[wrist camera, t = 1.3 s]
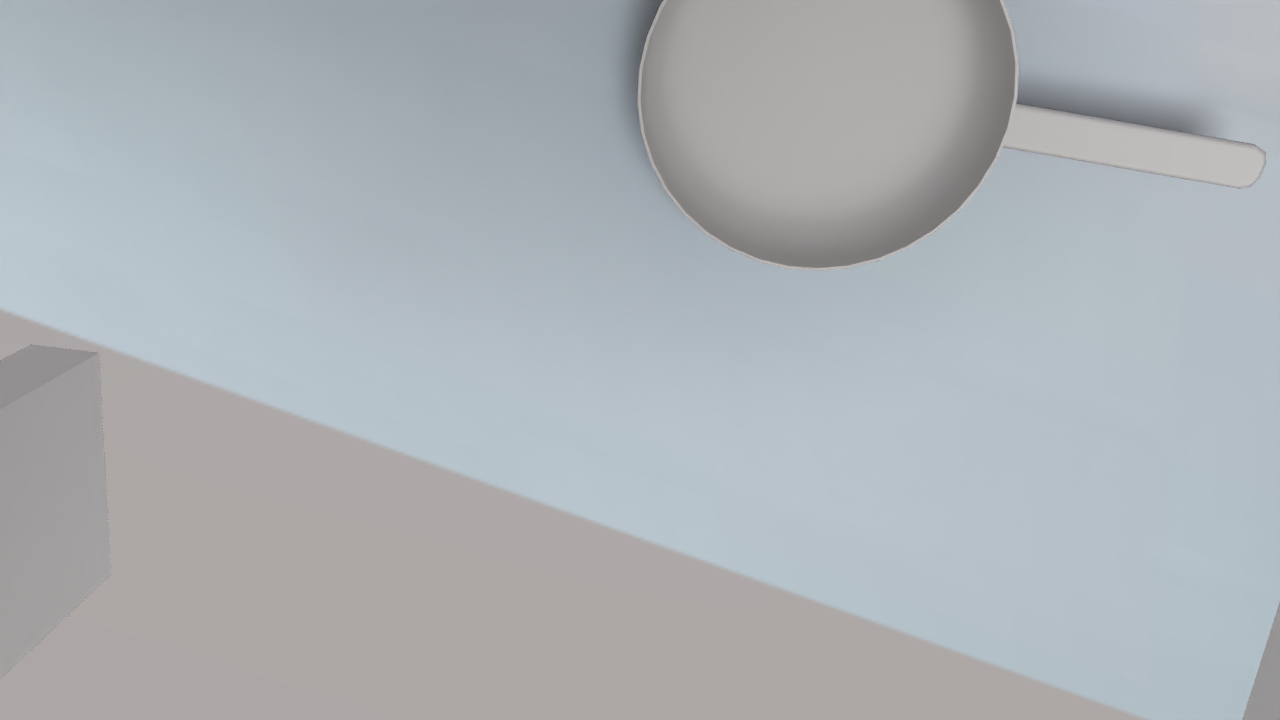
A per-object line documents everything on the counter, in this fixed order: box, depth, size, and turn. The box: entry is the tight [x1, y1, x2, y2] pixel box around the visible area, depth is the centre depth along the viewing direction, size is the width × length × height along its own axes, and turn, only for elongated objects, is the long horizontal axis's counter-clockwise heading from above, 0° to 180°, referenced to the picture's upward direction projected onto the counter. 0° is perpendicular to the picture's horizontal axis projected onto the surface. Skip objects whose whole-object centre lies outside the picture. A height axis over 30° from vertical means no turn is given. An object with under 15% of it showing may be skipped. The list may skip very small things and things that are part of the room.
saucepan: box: [637, 0, 1266, 271], centre depth 34 cm, size 11×18×4 cm, turn 82°
